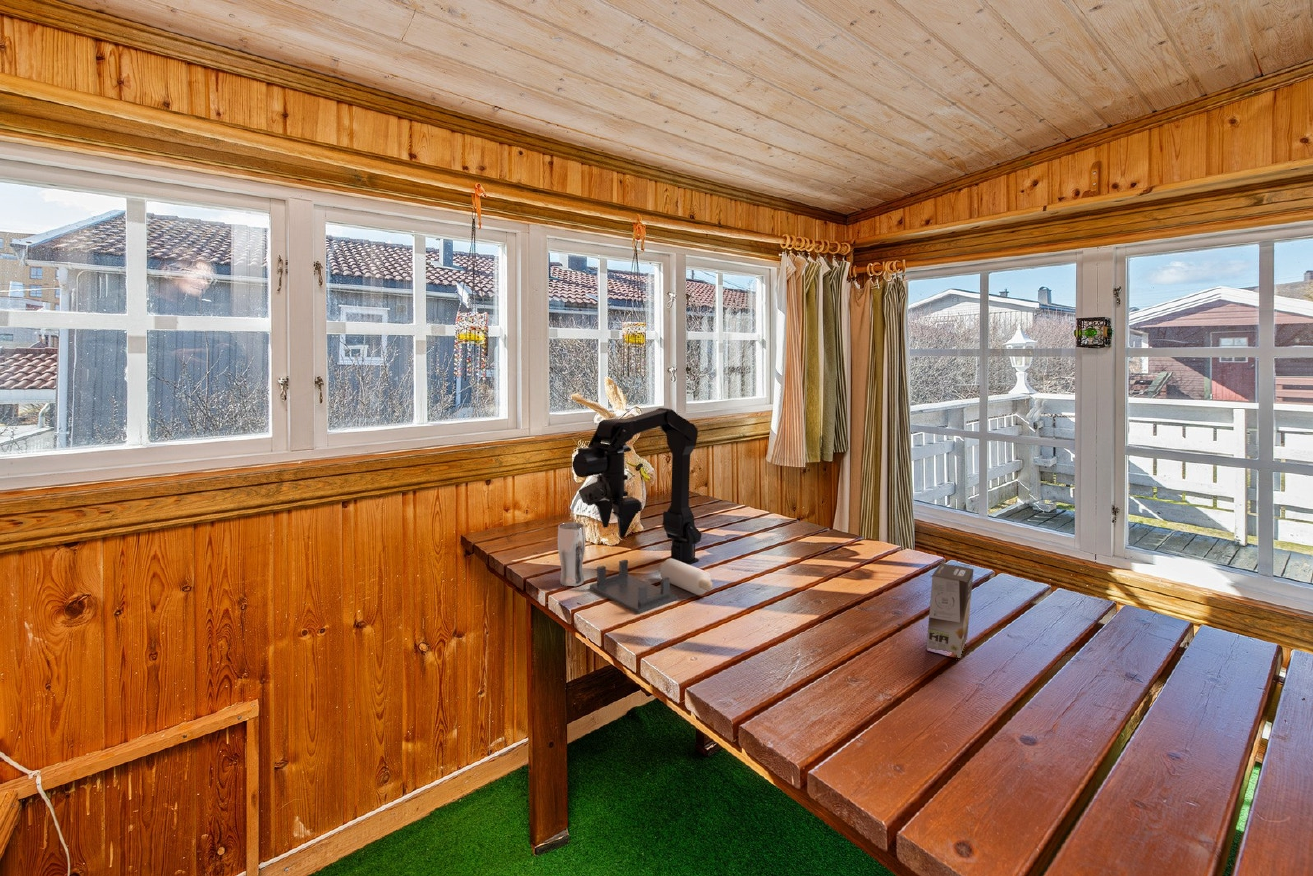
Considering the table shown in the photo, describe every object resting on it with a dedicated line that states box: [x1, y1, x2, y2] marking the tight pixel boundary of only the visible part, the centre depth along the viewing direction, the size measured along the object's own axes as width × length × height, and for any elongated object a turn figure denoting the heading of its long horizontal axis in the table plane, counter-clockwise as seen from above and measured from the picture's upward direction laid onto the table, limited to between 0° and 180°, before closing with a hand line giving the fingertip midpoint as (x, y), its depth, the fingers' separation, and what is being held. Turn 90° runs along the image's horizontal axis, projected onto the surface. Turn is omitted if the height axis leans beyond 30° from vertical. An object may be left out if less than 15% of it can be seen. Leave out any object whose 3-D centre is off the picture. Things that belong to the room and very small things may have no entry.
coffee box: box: [926, 563, 974, 659], centre depth 122 cm, size 9×6×16 cm
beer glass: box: [557, 521, 586, 587], centre depth 154 cm, size 7×7×15 cm
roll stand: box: [589, 559, 678, 615], centre depth 148 cm, size 12×19×6 cm, turn 41°
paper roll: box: [658, 557, 714, 596], centre depth 153 cm, size 17×6×6 cm, turn 42°
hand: (613, 532), depth 151 cm, fingers open, 9 cm apart
